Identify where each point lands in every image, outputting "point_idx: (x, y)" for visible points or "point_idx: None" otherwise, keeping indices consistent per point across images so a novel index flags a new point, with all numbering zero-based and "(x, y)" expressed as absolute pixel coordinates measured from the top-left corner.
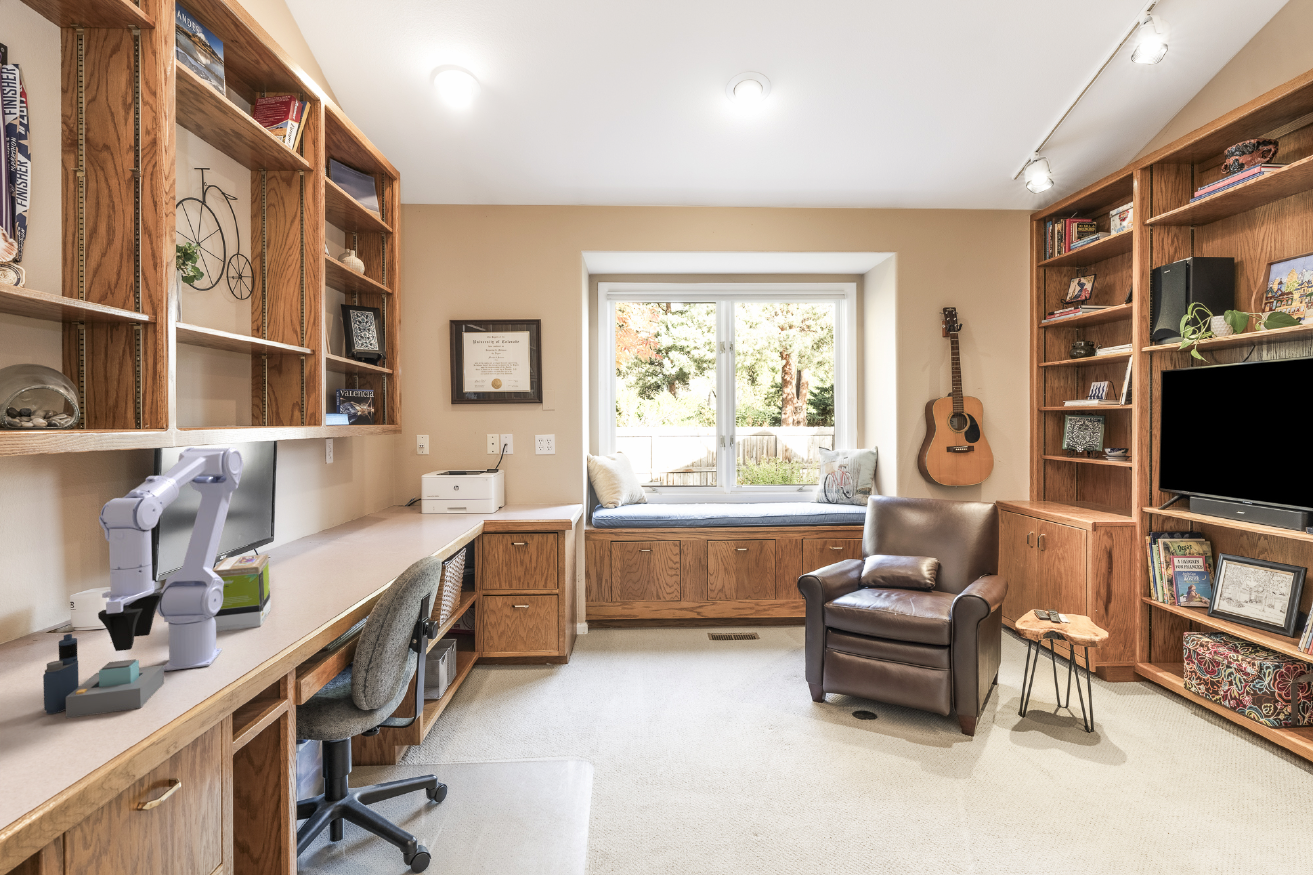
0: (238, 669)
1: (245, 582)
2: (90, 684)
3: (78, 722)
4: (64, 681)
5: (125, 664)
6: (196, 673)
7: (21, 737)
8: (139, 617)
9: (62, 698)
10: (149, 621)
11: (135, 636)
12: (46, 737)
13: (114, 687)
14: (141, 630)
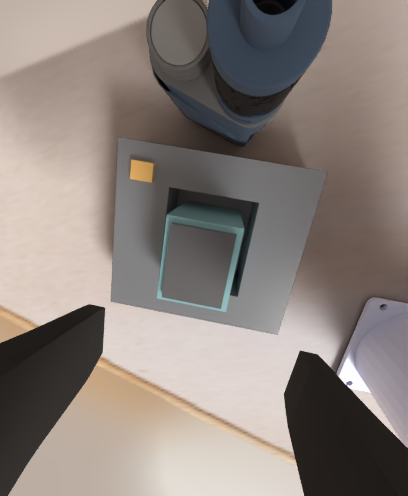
0: (270, 419)
1: None
2: (205, 180)
3: (100, 178)
4: (185, 107)
5: (176, 286)
6: None
7: (57, 76)
8: (342, 483)
9: (186, 115)
10: (303, 479)
11: (300, 353)
12: (39, 134)
13: (143, 246)
14: (296, 399)
